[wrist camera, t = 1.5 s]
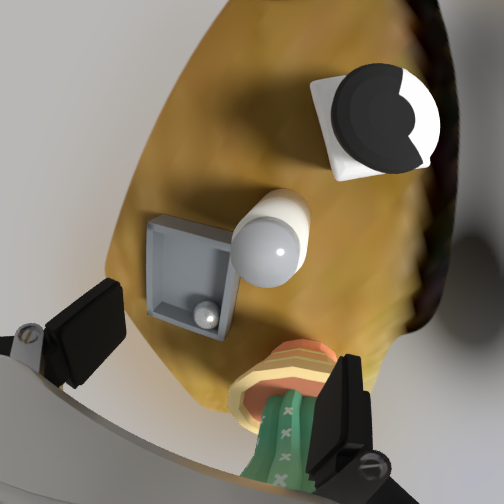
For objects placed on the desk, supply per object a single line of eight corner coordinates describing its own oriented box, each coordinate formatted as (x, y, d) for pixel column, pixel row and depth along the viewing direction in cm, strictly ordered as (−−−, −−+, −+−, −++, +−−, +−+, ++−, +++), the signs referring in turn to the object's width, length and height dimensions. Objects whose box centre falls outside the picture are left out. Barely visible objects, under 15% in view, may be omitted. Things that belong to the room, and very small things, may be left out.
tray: (161, 213, 30) (147, 221, 27) (248, 236, 28) (240, 246, 26) (158, 301, 35) (147, 314, 32) (231, 326, 34) (223, 341, 31)
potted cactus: (356, 400, 34) (343, 564, 12) (252, 397, 38) (196, 545, 16) (369, 315, 29) (381, 555, 6) (235, 315, 33) (130, 513, 10)
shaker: (262, 183, 26) (230, 208, 17) (316, 196, 25) (314, 229, 16) (252, 233, 28) (219, 280, 19) (303, 246, 28) (293, 301, 19)
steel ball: (200, 292, 32) (189, 306, 29) (227, 300, 31) (217, 316, 29) (198, 313, 33) (187, 329, 30) (223, 321, 33) (214, 338, 30)
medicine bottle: (331, 171, 24) (340, 197, 13) (311, 97, 22) (303, 61, 11) (404, 159, 22) (463, 177, 11) (386, 84, 20) (432, 47, 9)
